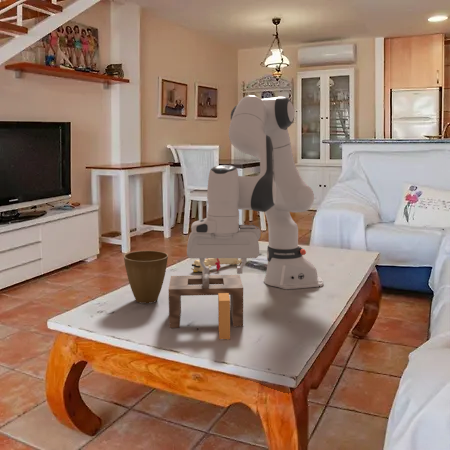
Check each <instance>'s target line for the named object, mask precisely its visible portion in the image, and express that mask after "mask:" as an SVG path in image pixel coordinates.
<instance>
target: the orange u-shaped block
mask: <svg viewBox="0 0 450 450" xmlns="http://www.w3.org/2000/svg"><path fill="white" fill-rule="evenodd" d="M217 297H218V298H217V302H218V304H217V305H218V307H217V309H218V314H217V316H218V317H217V318H218V321H217V322H218V335H219V336H218V339H227V340H231V312H230V295H229V293H218V295H217Z"/></svg>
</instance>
